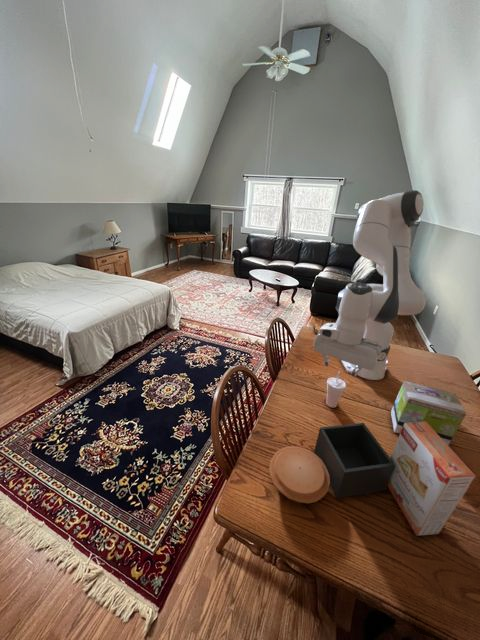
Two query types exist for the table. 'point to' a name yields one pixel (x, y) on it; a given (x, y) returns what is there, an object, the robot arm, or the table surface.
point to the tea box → (428, 409)
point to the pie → (299, 474)
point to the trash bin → (353, 459)
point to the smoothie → (334, 390)
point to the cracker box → (427, 478)
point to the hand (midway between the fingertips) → (339, 370)
